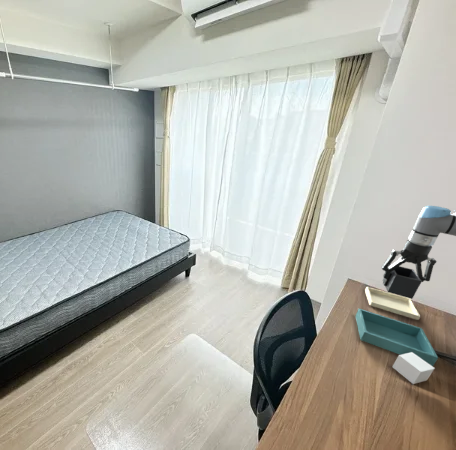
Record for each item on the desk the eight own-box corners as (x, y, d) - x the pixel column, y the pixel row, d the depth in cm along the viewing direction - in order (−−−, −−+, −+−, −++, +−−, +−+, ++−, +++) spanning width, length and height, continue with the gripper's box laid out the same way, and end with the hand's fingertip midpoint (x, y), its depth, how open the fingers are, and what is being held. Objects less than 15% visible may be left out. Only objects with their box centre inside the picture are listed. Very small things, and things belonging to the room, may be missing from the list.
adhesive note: (426, 381, 78) (435, 368, 75) (412, 385, 76) (421, 372, 74) (404, 364, 83) (412, 351, 81) (391, 368, 82) (398, 355, 79)
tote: (417, 337, 95) (422, 328, 93) (432, 367, 82) (438, 357, 81) (354, 316, 104) (358, 308, 102) (359, 341, 92) (364, 331, 90)
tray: (408, 302, 114) (410, 298, 114) (417, 321, 103) (420, 316, 102) (364, 290, 122) (366, 286, 121) (369, 306, 111) (371, 301, 110)
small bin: (404, 286, 112) (413, 269, 109) (412, 299, 103) (421, 281, 100) (382, 280, 116) (390, 264, 112) (387, 292, 107) (396, 274, 104)
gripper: (389, 239, 103) (369, 283, 111) (460, 253, 93) (432, 301, 101) (385, 233, 109) (366, 276, 117) (451, 246, 99) (425, 292, 107)
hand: (397, 287), depth 109 cm, fingers closed on small bin, 8 cm apart
